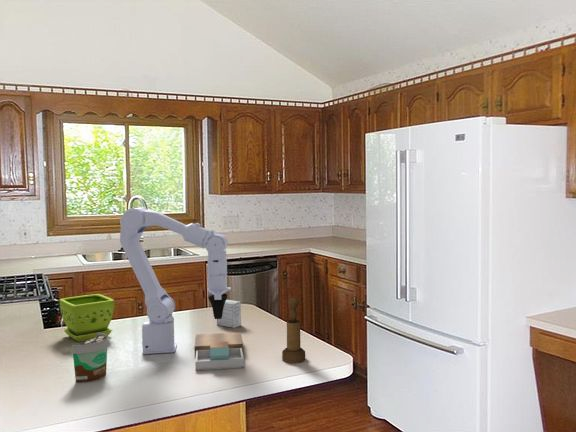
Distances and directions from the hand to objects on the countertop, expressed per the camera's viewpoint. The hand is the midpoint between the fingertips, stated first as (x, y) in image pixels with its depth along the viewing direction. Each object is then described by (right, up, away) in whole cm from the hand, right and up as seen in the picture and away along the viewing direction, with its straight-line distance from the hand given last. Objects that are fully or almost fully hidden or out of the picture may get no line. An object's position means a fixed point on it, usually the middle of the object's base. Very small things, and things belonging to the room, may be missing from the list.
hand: (218, 318), depth 157 cm
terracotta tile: (+2, -8, -9) cm, 13 cm away
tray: (+2, -10, -11) cm, 16 cm away
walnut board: (0, -10, 0) cm, 10 cm away
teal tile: (+2, -6, -14) cm, 16 cm away
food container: (-29, -11, -21) cm, 37 cm away
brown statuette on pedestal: (+23, -10, -9) cm, 27 cm away
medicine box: (0, -8, +28) cm, 29 cm away
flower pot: (-46, -9, +16) cm, 49 cm away
